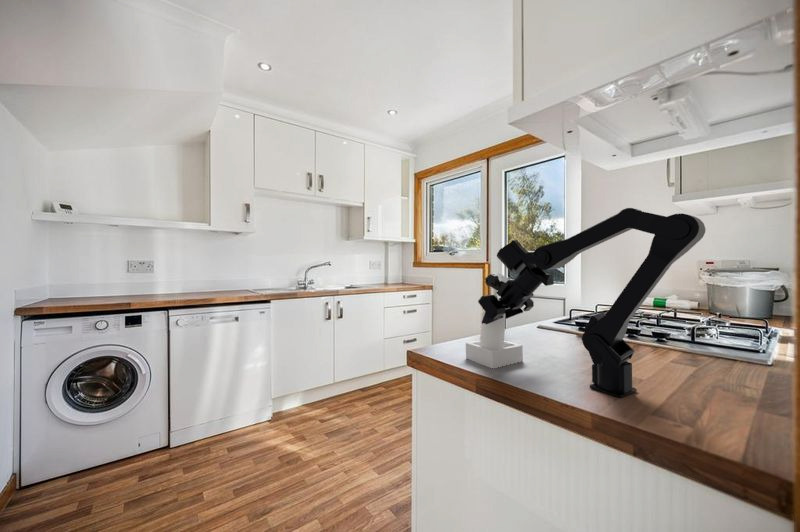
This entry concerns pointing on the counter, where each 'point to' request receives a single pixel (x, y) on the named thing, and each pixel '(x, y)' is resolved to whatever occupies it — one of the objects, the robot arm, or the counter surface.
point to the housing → (494, 354)
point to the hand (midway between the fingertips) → (489, 322)
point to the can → (492, 333)
